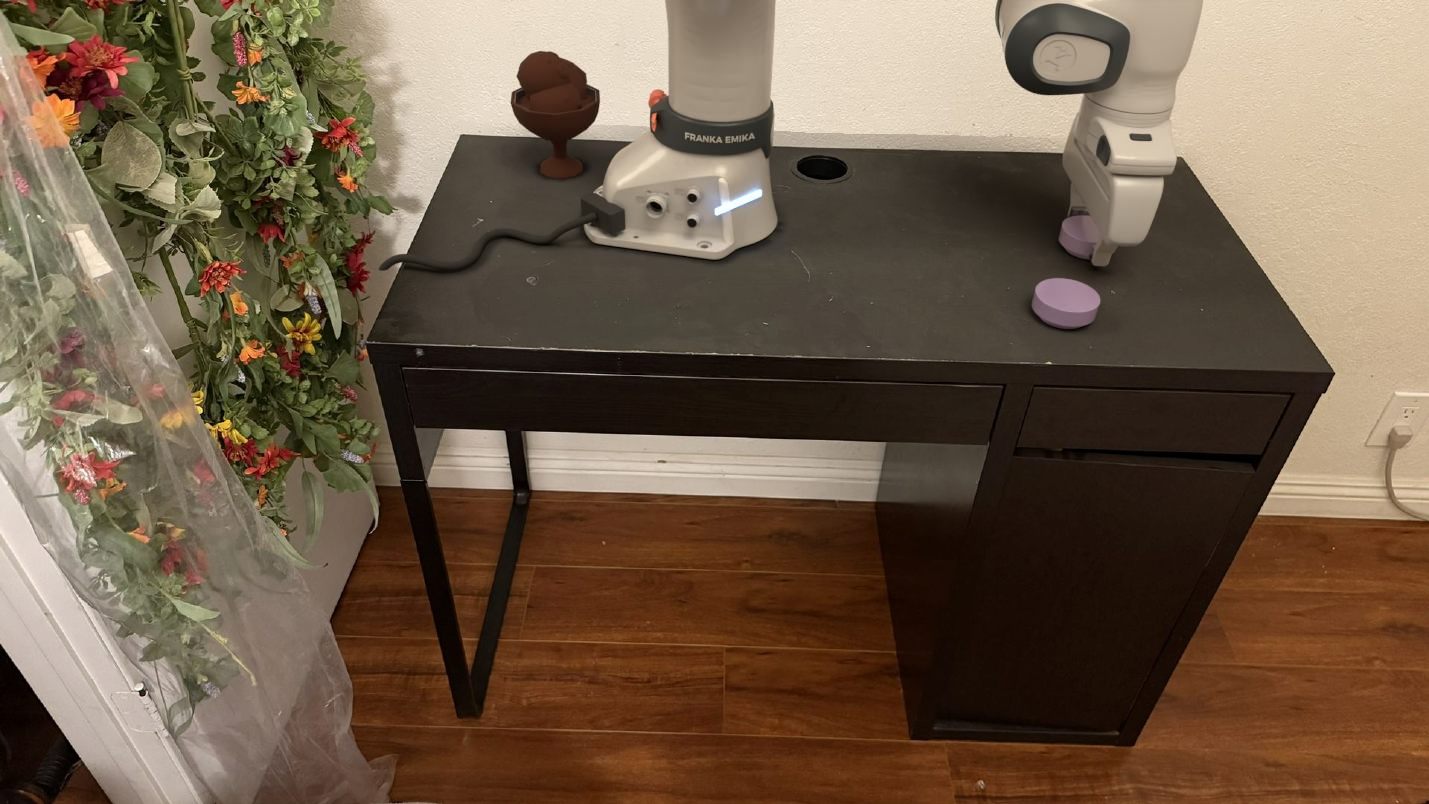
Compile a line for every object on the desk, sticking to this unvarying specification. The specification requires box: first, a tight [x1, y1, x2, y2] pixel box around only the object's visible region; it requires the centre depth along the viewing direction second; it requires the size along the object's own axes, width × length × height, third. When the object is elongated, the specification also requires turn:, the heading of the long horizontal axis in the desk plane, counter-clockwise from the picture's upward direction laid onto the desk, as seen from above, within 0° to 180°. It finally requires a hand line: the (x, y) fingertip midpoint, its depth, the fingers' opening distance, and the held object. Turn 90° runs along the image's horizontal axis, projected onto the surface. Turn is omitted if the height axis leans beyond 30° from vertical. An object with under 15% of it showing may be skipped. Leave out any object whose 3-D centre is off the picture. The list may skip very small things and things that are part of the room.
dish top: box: [1058, 215, 1118, 261], centre depth 112 cm, size 6×6×3 cm
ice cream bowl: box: [510, 50, 601, 179], centre depth 121 cm, size 11×11×15 cm
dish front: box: [1031, 277, 1101, 330], centre depth 101 cm, size 6×6×3 cm
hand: (1086, 241), depth 112 cm, fingers open, 8 cm apart
